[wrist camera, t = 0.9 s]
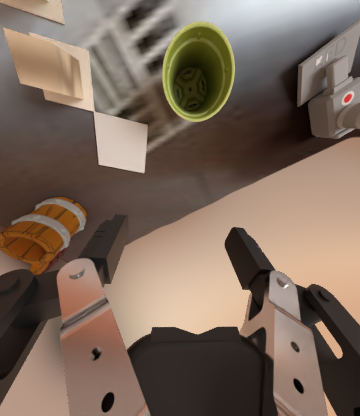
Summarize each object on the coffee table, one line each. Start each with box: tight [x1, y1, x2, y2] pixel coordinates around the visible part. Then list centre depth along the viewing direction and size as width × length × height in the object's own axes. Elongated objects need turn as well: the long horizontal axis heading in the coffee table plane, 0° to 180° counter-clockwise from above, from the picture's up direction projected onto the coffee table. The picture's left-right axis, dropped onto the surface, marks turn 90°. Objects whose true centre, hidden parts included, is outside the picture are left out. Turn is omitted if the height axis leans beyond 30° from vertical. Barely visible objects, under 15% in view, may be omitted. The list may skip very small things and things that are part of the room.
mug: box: [0, 197, 87, 275], centre depth 32 cm, size 11×16×15 cm, turn 163°
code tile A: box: [29, 32, 95, 112], centre depth 23 cm, size 8×8×1 cm
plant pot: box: [162, 21, 235, 122], centre depth 21 cm, size 9×9×9 cm
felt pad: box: [94, 112, 148, 173], centre depth 29 cm, size 10×10×1 cm
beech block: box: [3, 28, 84, 99], centre depth 20 cm, size 5×5×6 cm
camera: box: [297, 19, 360, 139], centre depth 21 cm, size 9×12×15 cm
